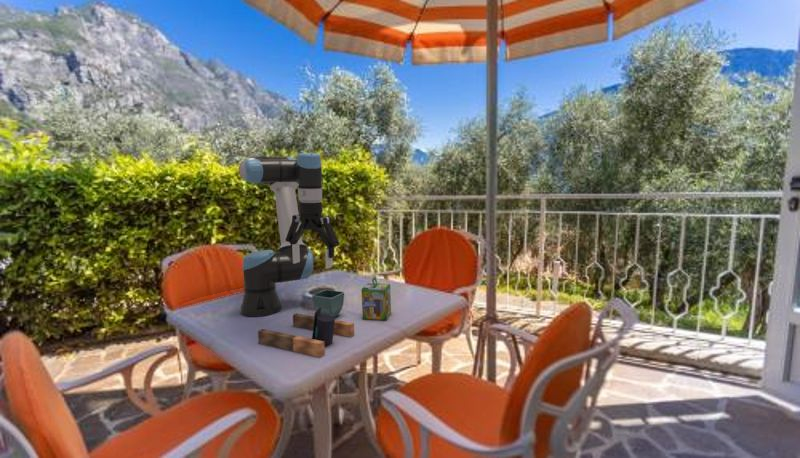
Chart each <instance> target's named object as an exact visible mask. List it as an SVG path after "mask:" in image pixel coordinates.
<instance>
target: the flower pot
mask: <svg viewBox="0 0 800 458" xmlns="http://www.w3.org/2000/svg"><path fill="white" fill-rule="evenodd" d="M311 297H312V303H313V308H314V311H315V312H316V311H317V310H318V309H319V308H321V312H320V315H330V316H333V317H334V318H336V317H338V316H339V314H340V312H341V311H342V309H343V306H344V302H345V301H344V299H345V291H340V290H332V289H324V290H320V291H319V292H317V293H314V294H313V295H311Z"/></svg>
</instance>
